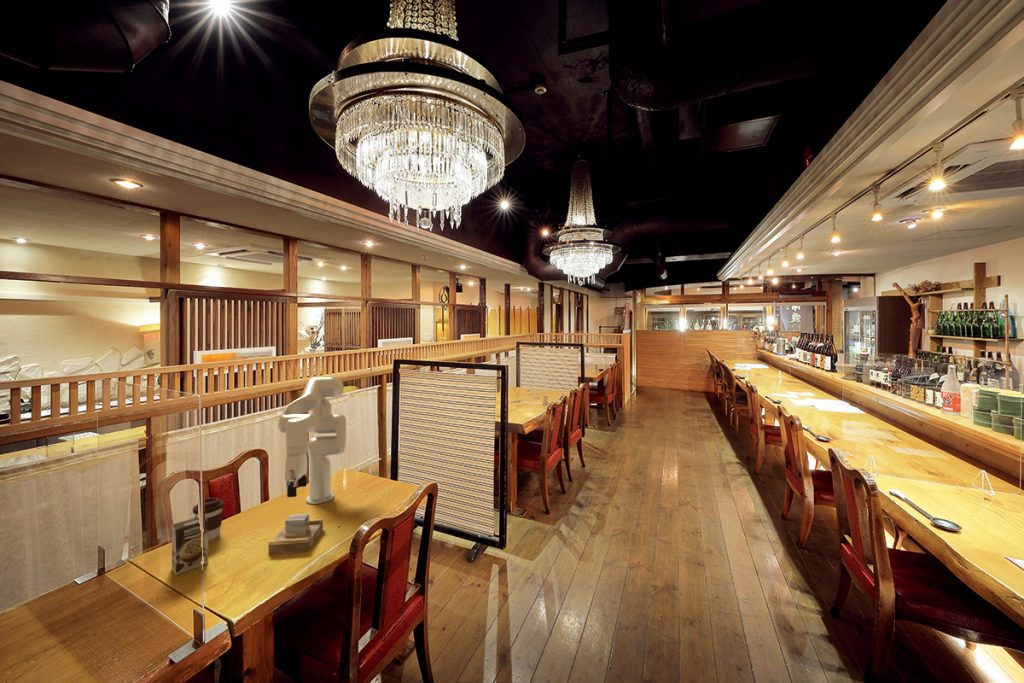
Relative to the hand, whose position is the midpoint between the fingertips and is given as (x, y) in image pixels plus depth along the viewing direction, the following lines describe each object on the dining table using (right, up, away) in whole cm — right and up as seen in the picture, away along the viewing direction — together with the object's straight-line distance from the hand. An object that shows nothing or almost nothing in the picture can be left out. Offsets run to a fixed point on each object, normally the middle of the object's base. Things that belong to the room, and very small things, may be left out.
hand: (297, 491), depth 149 cm
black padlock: (0, -17, 0) cm, 17 cm away
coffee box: (-29, -21, -16) cm, 39 cm away
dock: (0, -20, 0) cm, 20 cm away
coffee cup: (-38, -20, +3) cm, 43 cm away
